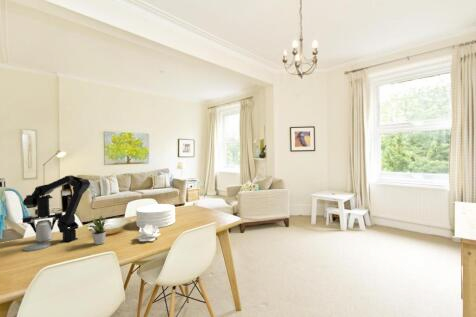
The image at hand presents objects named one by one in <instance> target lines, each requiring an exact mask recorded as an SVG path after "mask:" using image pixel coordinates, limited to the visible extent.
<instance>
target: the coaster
mask: <svg viewBox="0 0 476 317" xmlns="http://www.w3.org/2000/svg"><path fill="white" fill-rule="evenodd" d="M51 246H52V242H50V241H44V242H35V243H32V244H28V245H26V246H24V247H23V251H24V252H35V251H41V250H43V249H46V248H49V247H51Z"/></svg>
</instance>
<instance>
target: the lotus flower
mask: <svg viewBox="0 0 476 317" xmlns="http://www.w3.org/2000/svg"><path fill="white" fill-rule="evenodd" d="M138 233H139V234H138ZM138 233H137V236H135V239H136V240H137V239H138V241H139V242H153V241H155V240H156V237H158V236H161V233H160V228H158V226H157V227H155V228H153V226H152V225H149V224H146V225H145V227H144V228H140V227H139V230H138Z"/></svg>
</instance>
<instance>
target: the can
mask: <svg viewBox="0 0 476 317" xmlns="http://www.w3.org/2000/svg"><path fill="white" fill-rule="evenodd" d="M35 227H36V233H35V241H36V242H37V243H39V242H49V241H50V240H51V239H52V237H53V234H52V233H53V232H52V231H53V230H52V229H51V228H52V221H51V220H50V219H41V220H37V222H36V223H35Z"/></svg>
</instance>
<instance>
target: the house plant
mask: <svg viewBox="0 0 476 317" xmlns="http://www.w3.org/2000/svg"><path fill="white" fill-rule="evenodd" d="M90 219H91V220H92V222H91V221H90V220H88V223H91V224H90V225H86V226H85V227H86V228H88V231H89V232H91V231H93V232H92V233H91V235H92V239H93V243H94V245H101V244H102V245H103V244H104V243H105V241H106V233H107V231H106V228H105V227H107V226H108V225H110V224H109V223H108V224H107V225H105V224H106V223H107V222H108V220H109V219H110V218H109V219H108V220H106V219H107V217H106V216H104V215H103V214H101V215H100V216H99V218H98V219H97V218H92V217H90Z"/></svg>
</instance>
